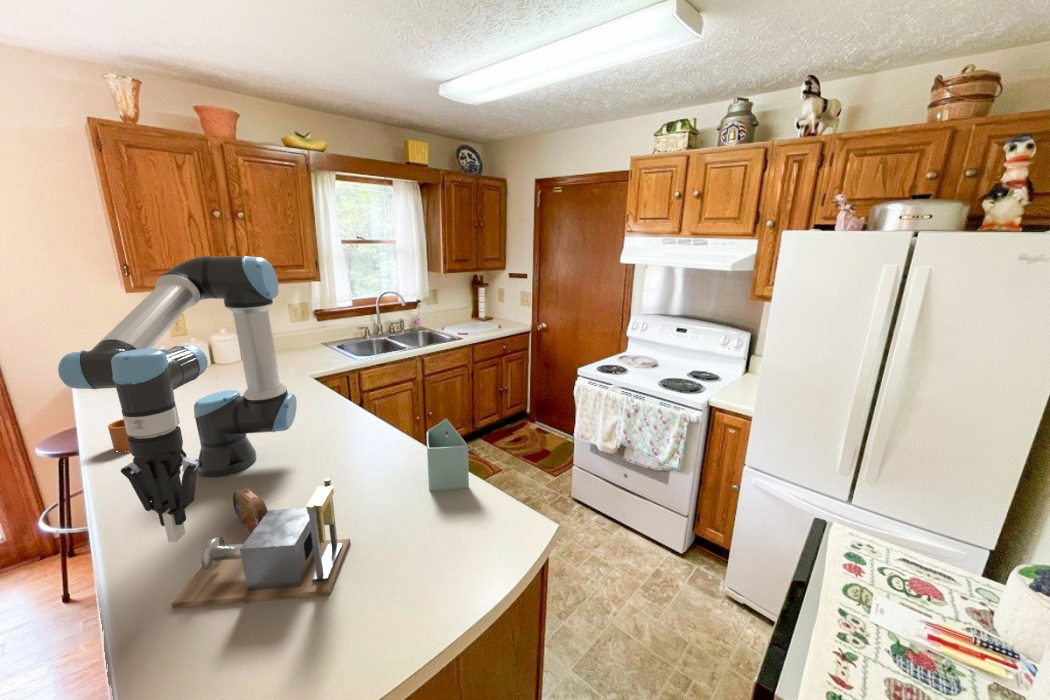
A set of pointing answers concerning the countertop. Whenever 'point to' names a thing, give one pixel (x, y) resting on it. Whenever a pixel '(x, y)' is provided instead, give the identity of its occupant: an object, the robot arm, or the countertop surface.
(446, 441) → the planter
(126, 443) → the mug
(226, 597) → the board
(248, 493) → the tin
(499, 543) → the countertop surface
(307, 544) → the block
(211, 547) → the pin
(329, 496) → the bracket
